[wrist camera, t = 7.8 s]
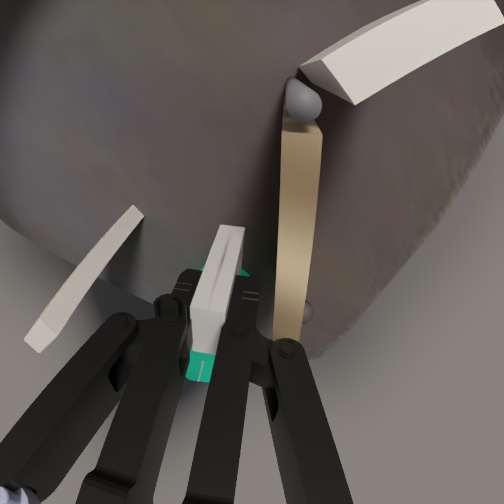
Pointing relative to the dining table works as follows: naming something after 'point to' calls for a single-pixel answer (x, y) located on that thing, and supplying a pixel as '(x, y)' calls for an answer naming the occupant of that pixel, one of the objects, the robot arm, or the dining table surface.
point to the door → (296, 223)
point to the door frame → (313, 107)
